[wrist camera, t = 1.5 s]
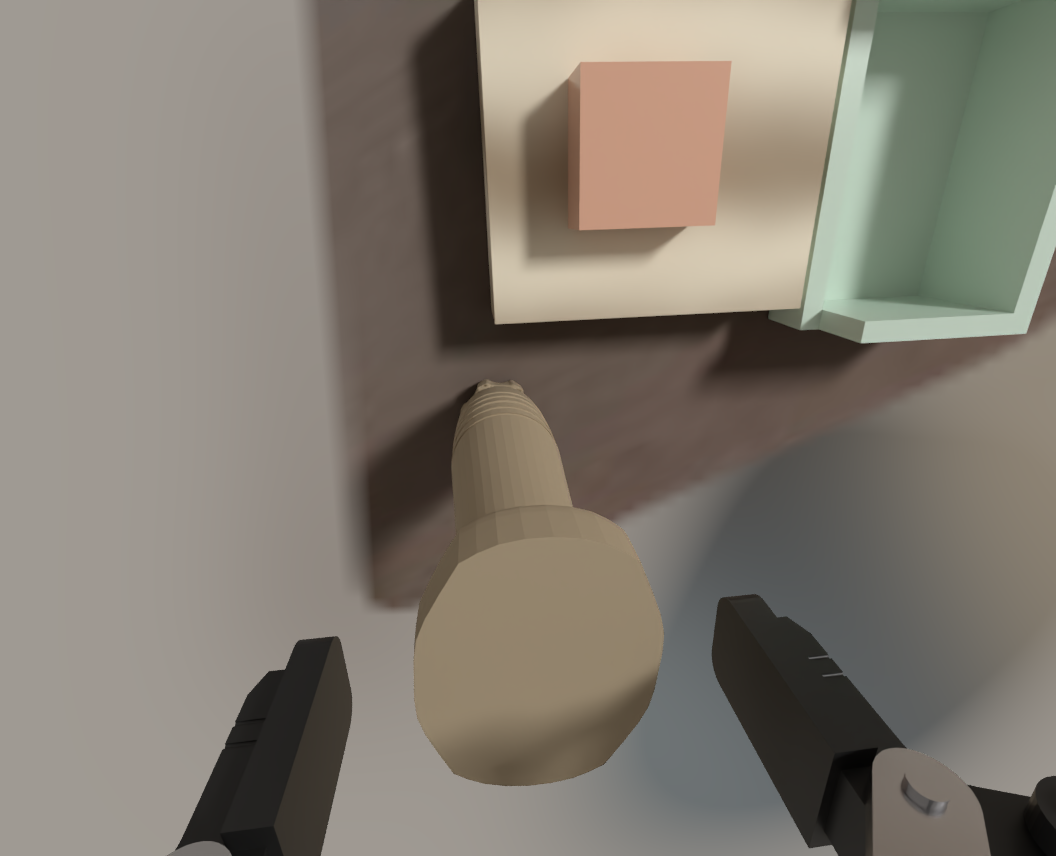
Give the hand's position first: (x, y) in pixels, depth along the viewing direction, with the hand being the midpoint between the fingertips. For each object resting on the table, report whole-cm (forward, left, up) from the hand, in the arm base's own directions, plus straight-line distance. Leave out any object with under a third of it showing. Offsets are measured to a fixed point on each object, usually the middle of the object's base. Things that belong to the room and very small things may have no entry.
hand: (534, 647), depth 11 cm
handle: (0, 0, -14) cm, 14 cm away
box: (-10, +16, -14) cm, 24 cm away
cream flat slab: (-10, +6, -14) cm, 18 cm away
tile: (-10, +5, -11) cm, 16 cm away
